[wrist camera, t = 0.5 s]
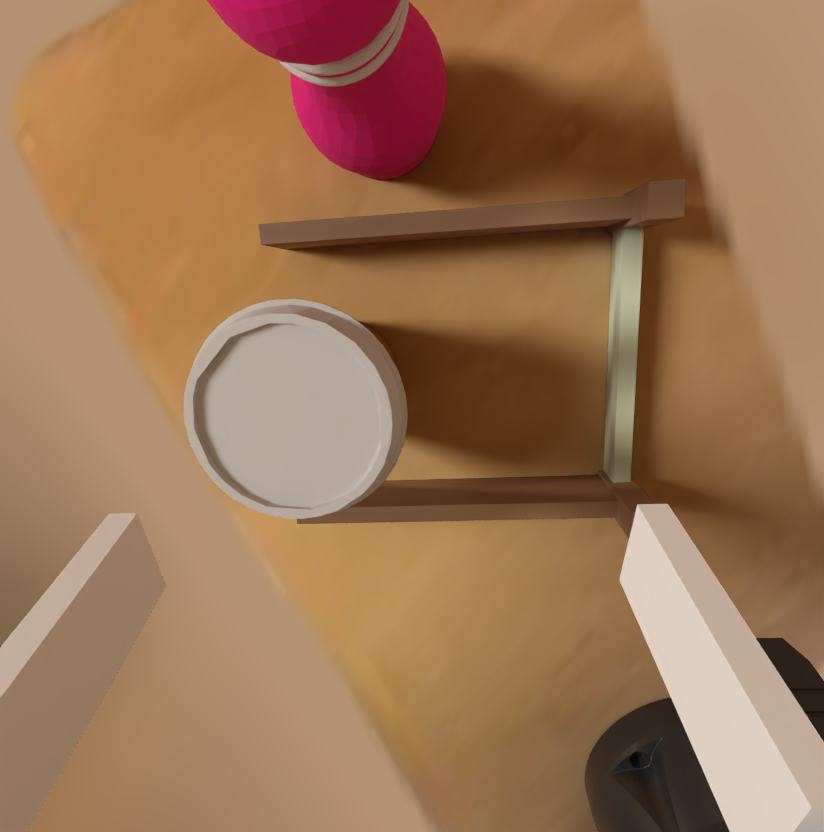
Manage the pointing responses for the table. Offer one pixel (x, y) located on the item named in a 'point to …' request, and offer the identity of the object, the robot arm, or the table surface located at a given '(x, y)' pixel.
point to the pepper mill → (353, 75)
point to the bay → (614, 484)
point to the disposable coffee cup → (295, 408)
